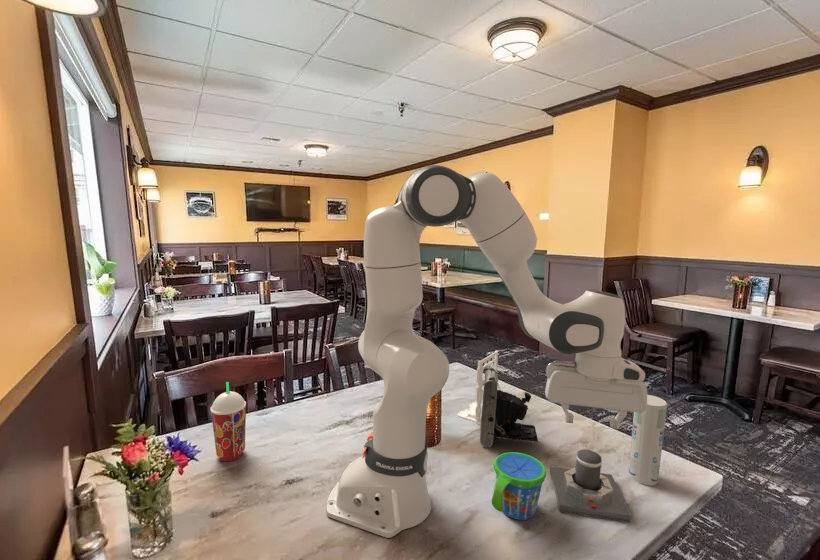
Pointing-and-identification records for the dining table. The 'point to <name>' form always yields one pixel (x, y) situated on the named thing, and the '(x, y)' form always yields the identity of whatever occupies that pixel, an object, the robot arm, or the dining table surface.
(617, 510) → the mount plate
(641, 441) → the spray can
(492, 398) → the vintage camera
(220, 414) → the smoothie
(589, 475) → the lens
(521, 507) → the snack cup
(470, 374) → the dining table surface
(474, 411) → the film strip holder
